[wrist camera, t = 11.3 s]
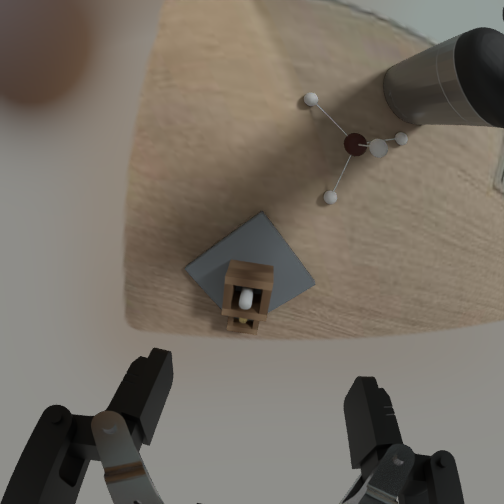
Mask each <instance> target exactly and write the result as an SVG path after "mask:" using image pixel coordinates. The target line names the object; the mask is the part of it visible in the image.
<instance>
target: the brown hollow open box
mask: <svg viewBox="0 0 504 504" xmlns="http://www.w3.org/2000/svg"><path fill="white" fill-rule="evenodd" d="M273 280H274V266H271V265H265V264H258V263H251V262H245V261H238V260H232V259H231V261H230V264H229V267H228V270H227V273H226V276H225V284H224V294H223V305H222V315H225V316H228V323H227V330H228V331H234V332H240V333H247V334H254V335H257V330H258V325H259V321H265V322H266V318H267V313H268V308H269V303H270V298H271V293H272V288H273ZM236 285H237V286H243V287H250V288H256V289H261V294H254V293H253V298H252V305H251V307H250V308H249V309H246V310H245V309H242V308H240V306H239V300H240V295H241V291H235V286H236ZM234 317H238V318H244V319H251V320H253V321H247V322H246V323H241V322H240V321H239V319H234Z"/></svg>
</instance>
